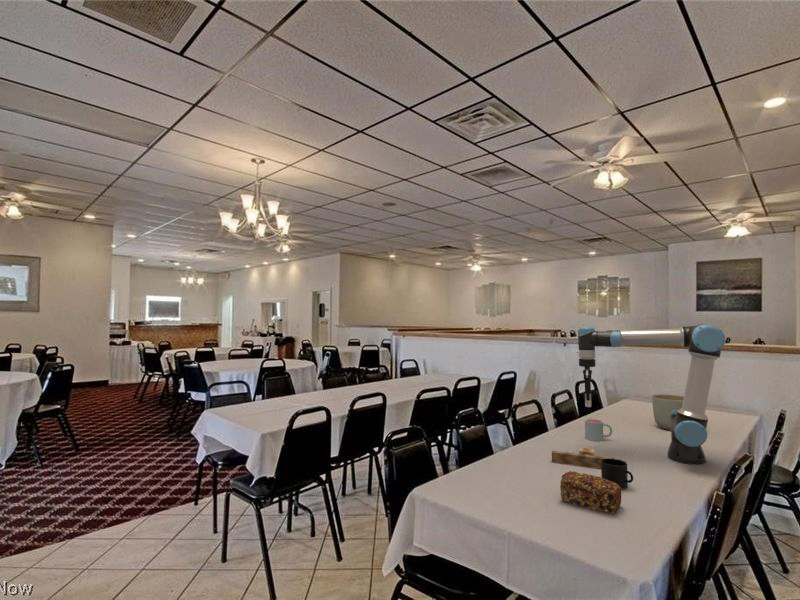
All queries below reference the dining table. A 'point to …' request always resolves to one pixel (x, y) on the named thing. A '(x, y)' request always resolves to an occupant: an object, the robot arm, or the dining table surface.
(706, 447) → the dining table surface
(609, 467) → the mug
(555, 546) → the dining table surface
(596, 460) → the board
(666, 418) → the planter
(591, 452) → the block
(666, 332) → the robot arm
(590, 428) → the mug
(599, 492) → the bread
